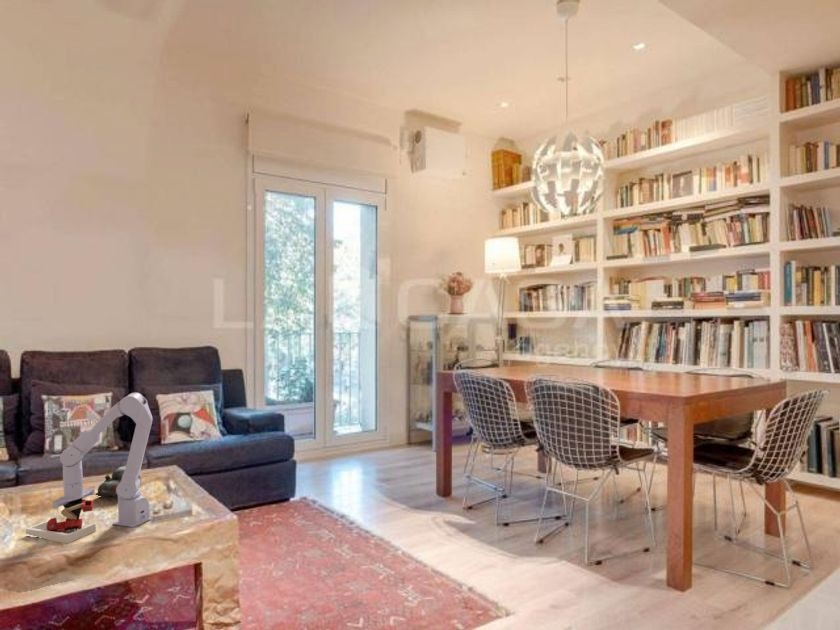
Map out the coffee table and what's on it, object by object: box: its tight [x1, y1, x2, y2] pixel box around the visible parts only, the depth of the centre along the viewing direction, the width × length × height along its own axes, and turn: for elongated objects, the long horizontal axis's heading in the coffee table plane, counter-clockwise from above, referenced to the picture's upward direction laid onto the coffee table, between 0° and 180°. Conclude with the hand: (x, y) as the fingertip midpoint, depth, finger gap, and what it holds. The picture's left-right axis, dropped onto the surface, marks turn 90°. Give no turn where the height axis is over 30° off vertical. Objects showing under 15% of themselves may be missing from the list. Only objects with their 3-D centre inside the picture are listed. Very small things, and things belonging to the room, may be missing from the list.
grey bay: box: [25, 519, 97, 544], centre depth 193 cm, size 19×10×2 cm, turn 70°
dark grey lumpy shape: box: [94, 465, 126, 498], centre depth 231 cm, size 15×12×14 cm
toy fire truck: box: [46, 499, 94, 533], centre depth 194 cm, size 3×14×10 cm, turn 114°
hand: (74, 522), depth 198 cm, fingers closed
